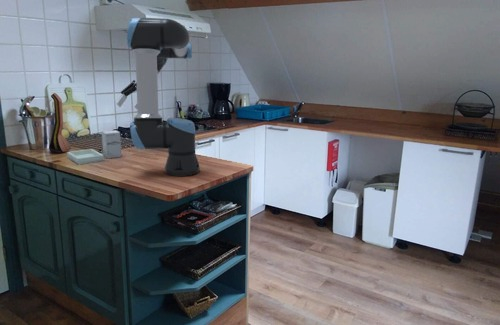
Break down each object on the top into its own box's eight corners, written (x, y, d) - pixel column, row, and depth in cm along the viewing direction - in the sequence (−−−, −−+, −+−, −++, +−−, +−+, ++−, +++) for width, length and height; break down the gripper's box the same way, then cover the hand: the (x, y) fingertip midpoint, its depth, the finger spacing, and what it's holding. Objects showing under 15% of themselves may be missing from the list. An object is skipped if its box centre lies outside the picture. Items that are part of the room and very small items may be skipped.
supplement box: (106, 158, 192) (104, 133, 189) (103, 155, 198) (101, 130, 195) (122, 157, 196) (120, 132, 193) (117, 153, 202) (116, 129, 199)
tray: (104, 160, 189) (103, 155, 188) (78, 164, 181) (77, 158, 180) (92, 154, 200) (91, 148, 200) (67, 157, 193) (67, 152, 192)
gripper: (168, 81, 203) (148, 113, 195) (136, 79, 217) (116, 109, 209) (160, 71, 198) (138, 104, 190) (128, 69, 211) (106, 99, 203)
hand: (126, 106), depth 199 cm, fingers open, 13 cm apart
